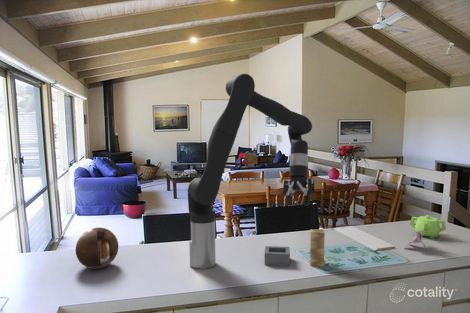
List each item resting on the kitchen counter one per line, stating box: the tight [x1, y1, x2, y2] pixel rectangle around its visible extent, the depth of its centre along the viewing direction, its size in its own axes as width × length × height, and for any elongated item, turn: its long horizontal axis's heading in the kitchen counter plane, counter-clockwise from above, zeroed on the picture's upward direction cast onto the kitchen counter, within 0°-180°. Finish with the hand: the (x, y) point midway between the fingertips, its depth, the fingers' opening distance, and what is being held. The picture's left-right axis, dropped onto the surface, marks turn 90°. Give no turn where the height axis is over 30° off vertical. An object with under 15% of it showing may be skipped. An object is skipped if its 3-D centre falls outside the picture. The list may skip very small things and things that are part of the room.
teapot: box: [409, 214, 447, 240], centre depth 169 cm, size 12×12×10 cm
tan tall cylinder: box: [309, 229, 326, 267], centre depth 136 cm, size 5×4×13 cm
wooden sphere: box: [75, 227, 119, 270], centre depth 134 cm, size 15×15×15 cm
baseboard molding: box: [331, 223, 396, 252], centre depth 166 cm, size 31×3×12 cm
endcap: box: [264, 245, 291, 267], centre depth 139 cm, size 10×8×5 cm
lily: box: [404, 228, 428, 251], centre depth 152 cm, size 12×12×10 cm
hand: (297, 205), depth 144 cm, fingers open, 8 cm apart
